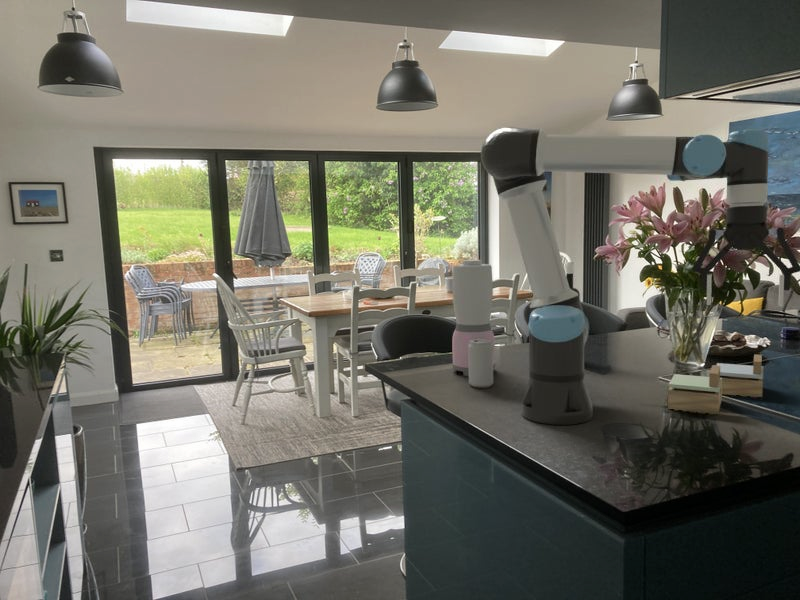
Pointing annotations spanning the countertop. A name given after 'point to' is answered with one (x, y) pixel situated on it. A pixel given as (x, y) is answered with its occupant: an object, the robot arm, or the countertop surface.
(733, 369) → the lid far
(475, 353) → the beverage can
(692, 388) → the lid near
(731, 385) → the box far
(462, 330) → the blender
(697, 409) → the box near
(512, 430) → the countertop surface
